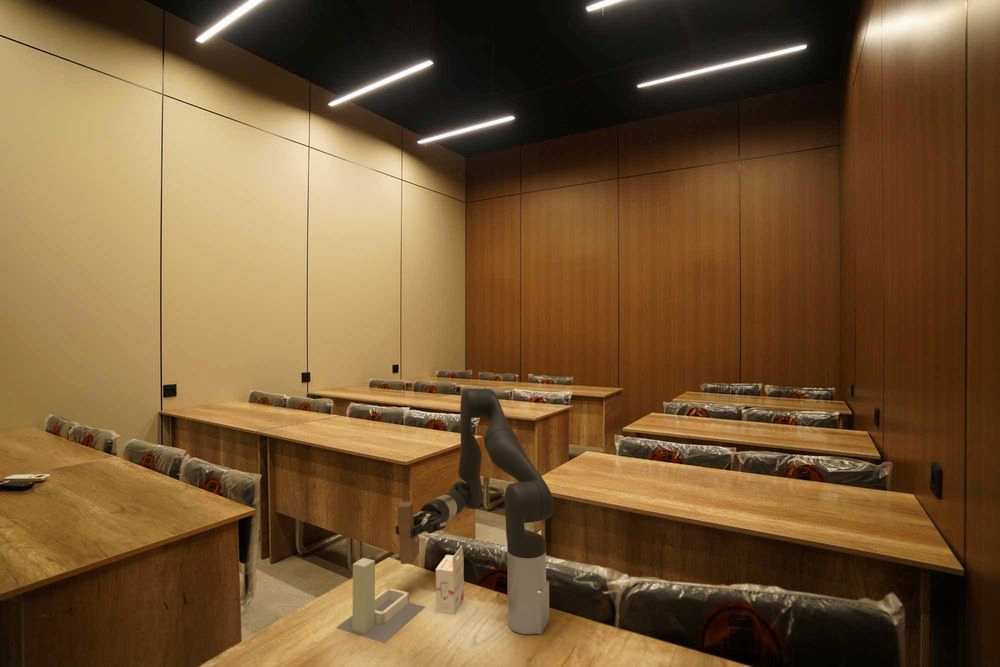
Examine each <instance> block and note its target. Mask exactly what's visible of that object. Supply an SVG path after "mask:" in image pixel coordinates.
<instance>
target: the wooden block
mask: <svg viewBox="0 0 1000 667" xmlns="http://www.w3.org/2000/svg"><path fill="white" fill-rule="evenodd" d="M413 515H414V504H413V501H406V502H403V501H401V502H400V503H398V505H397V521H398V525H399V535H398V539H399V556H400V558H399V559H400V564H401V565H408V564H409V565H412V564H413V563H414V562H415V561H416V559H417V557H418V555H419V554H420V544H419V539H416V536H415V537H414V538H413V537H411V532H410V531H411V529H412V528H413V527H414V517H413Z"/></svg>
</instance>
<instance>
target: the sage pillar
mask: <svg viewBox="0 0 1000 667" xmlns="http://www.w3.org/2000/svg"><path fill="white" fill-rule="evenodd" d="M375 589H376V560H375V559H370V558H366V557H362V558H360V559H359V560H357V561H356V562H354V563H352V616H353V631H356V632H359V633H363V634H365V633H367V632H368V631H369V630H370V629H372V628H373V627H374V626H375V597H376V593H375V592H376V590H375Z"/></svg>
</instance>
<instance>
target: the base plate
mask: <svg viewBox="0 0 1000 667" xmlns="http://www.w3.org/2000/svg"><path fill="white" fill-rule="evenodd" d="M410 594H411V593H410V592H406V591H402V590H399V589H394V588H390V587H387V588H386V589H384V590H383V591H381V592H380V593H379V594H378V595H375V626H374V627H373V628H372V629H370V630H369V631H368V632H367V633H365V634H363V633H359V632H356V631H353V615H351V616H350V617H348V618H347V619H345V620H344V621H343V622H342V623H340V624H338V626H336V627H335V629H338V630H342V631H344V632H347V633H351V634H354V635H357V636H361V637H363V638H366V639H370V640H374V641H377V642H379V643H383V644H386V643H387V642H388V641H389V640H390V639H392V638H393V637H394V635H396V634H397V633H398V632H399V631H401V630H402V629H403V628H404V626H405V627H406V625H407V624H408V623H410V621H411V620H413V619H414V618H415V617H416V616H417V615H418V614H419V613H420V612H422V611H423V610H424V609H425V608H426V606H424V605H420V604H418V603H413V602H410V600H411V599H410V596H411V595H410Z"/></svg>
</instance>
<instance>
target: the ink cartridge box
mask: <svg viewBox="0 0 1000 667" xmlns="http://www.w3.org/2000/svg"><path fill="white" fill-rule="evenodd" d="M463 549H464V548H463V545H462V544H461V545H460V547H459V548H458V549H457V551H456V552H455V554H454V555H453V554H452V555H451V554H445V556H444V558H442V560H441V561H440V562H439V564H438V565H437V567H436V568H435V595H436V596H435V598H436V599H435V605H436V607H435V608H436V613H439V614H447V615H455V614H456V612H457V610H458V609H459V607H460V605H461V602H462V601H464V598H465V593H464V590H465V589H464V588H465V584H464V582H465V581H464V579H465V578H464V577H465V574H464V572H465V571H464V565H465V564H464V562H465V561H464V550H463Z"/></svg>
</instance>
